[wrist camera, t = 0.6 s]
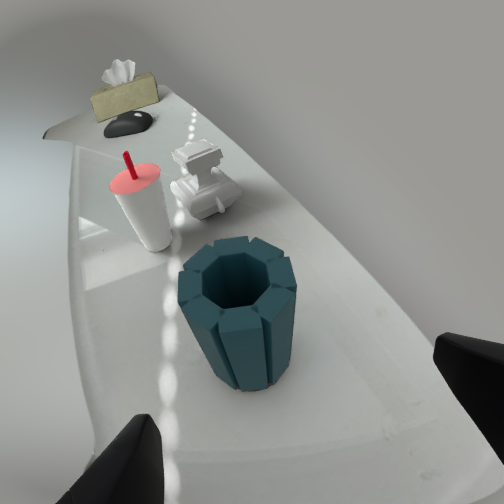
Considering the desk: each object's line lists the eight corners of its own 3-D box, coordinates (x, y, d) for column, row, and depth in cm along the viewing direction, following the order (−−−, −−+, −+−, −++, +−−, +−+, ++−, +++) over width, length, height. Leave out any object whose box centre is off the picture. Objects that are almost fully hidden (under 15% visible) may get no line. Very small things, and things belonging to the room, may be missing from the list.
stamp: (250, 213, 36) (243, 151, 29) (201, 237, 33) (185, 175, 27) (214, 181, 41) (204, 127, 35) (171, 201, 39) (155, 146, 32)
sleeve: (294, 384, 21) (306, 320, 13) (215, 394, 20) (176, 337, 13) (281, 317, 25) (282, 230, 17) (210, 327, 24) (179, 244, 17)
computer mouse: (112, 128, 62) (107, 114, 60) (155, 119, 62) (152, 104, 59) (99, 142, 57) (94, 127, 54) (145, 132, 57) (141, 116, 54)
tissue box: (97, 123, 68) (82, 73, 56) (99, 114, 74) (86, 69, 62) (160, 101, 72) (150, 50, 60) (156, 94, 78) (147, 48, 67)
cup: (160, 264, 31) (122, 170, 22) (128, 249, 33) (89, 163, 24) (189, 232, 34) (164, 139, 25) (157, 220, 36) (128, 136, 27)
